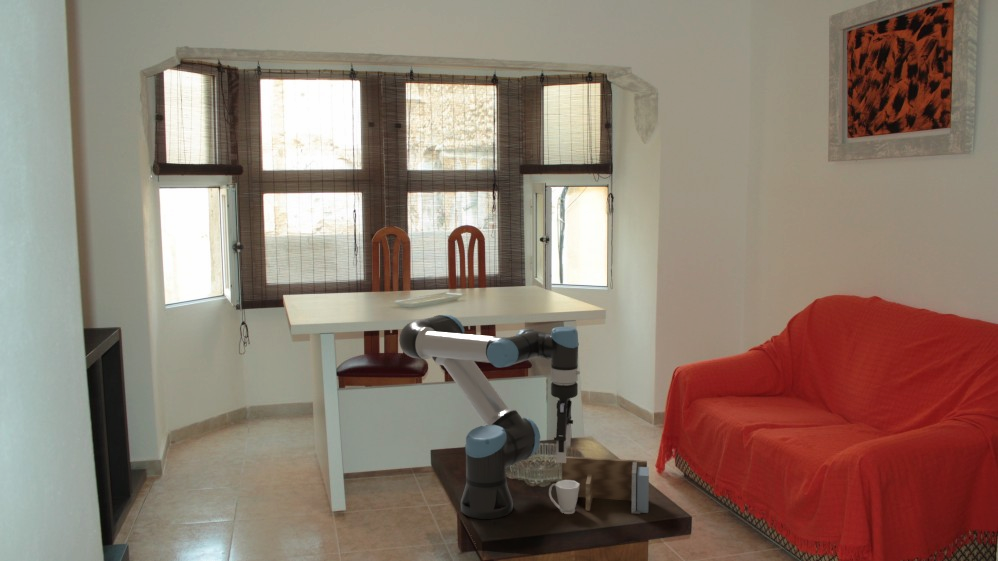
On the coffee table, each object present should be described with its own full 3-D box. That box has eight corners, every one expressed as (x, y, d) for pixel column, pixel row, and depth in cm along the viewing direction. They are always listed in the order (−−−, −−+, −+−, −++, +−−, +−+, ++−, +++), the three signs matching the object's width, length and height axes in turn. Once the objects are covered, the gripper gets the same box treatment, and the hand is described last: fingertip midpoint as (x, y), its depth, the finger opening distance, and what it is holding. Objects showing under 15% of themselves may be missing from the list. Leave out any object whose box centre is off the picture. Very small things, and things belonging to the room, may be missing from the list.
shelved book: (636, 512, 236) (637, 475, 235) (637, 502, 243) (637, 466, 242) (648, 512, 236) (648, 475, 234) (648, 503, 243) (648, 467, 241)
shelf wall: (562, 496, 249) (562, 457, 247) (562, 494, 250) (562, 456, 248) (646, 501, 244) (646, 462, 242) (646, 499, 245) (647, 460, 244)
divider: (585, 510, 238) (585, 483, 237) (588, 499, 246) (588, 473, 245) (589, 510, 238) (590, 483, 237) (592, 499, 246) (592, 473, 245)
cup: (570, 518, 233) (570, 490, 232) (542, 509, 239) (542, 482, 238) (584, 510, 238) (584, 483, 237) (556, 501, 245) (556, 475, 244)
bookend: (631, 513, 236) (631, 472, 234) (632, 500, 244) (632, 461, 243) (639, 513, 235) (640, 473, 234) (640, 501, 244) (641, 462, 242)
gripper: (574, 394, 221) (573, 470, 224) (580, 371, 245) (579, 440, 248) (546, 393, 222) (545, 468, 225) (555, 370, 247) (555, 439, 250)
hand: (563, 454), depth 237 cm, fingers open, 13 cm apart
